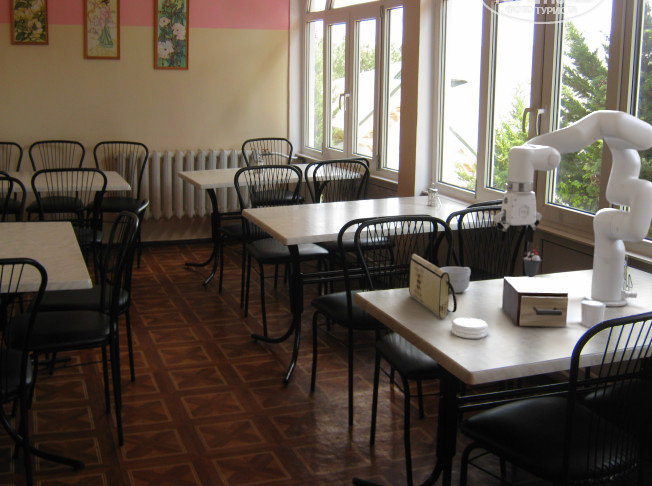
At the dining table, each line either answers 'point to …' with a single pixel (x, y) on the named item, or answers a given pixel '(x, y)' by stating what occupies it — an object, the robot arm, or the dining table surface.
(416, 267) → the clutch purse
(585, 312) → the white cylinder
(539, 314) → the drawer
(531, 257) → the sundae
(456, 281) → the teacup
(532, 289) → the cabinet
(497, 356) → the dining table surface
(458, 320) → the white round disc
